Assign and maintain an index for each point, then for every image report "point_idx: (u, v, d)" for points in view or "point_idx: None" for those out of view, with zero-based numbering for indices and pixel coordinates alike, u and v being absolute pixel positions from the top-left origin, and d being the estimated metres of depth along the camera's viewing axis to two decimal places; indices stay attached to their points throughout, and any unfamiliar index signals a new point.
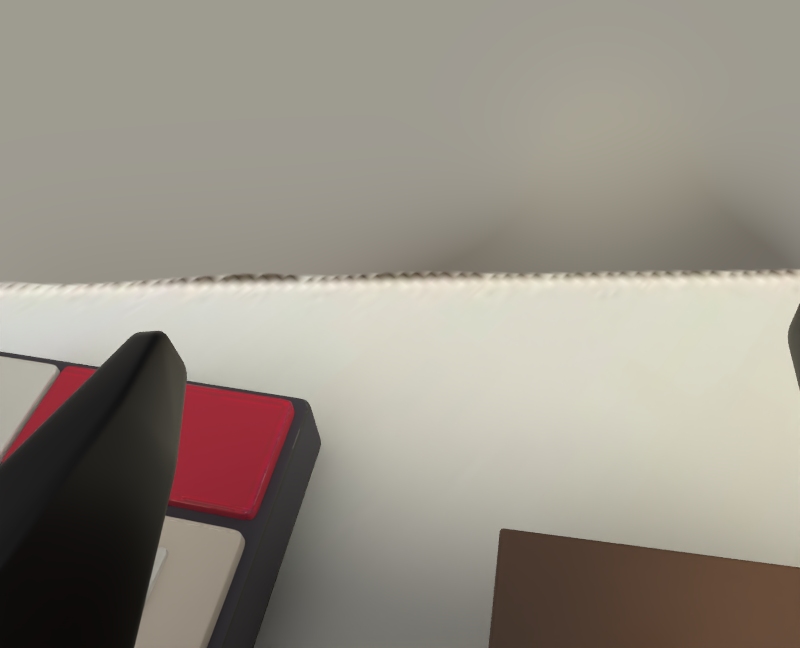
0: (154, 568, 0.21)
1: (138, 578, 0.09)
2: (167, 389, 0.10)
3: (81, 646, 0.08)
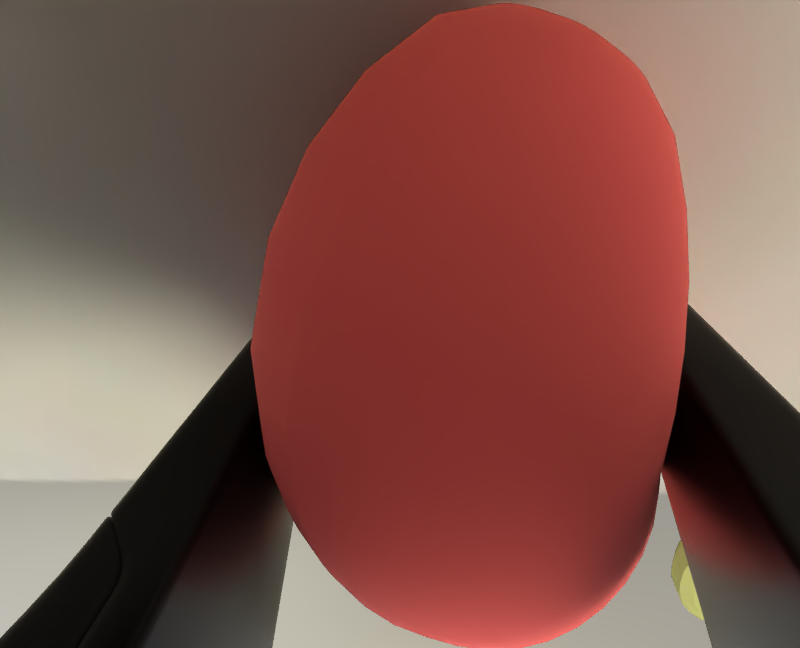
0: None
1: (275, 575, 0.09)
2: None
3: (236, 645, 0.08)
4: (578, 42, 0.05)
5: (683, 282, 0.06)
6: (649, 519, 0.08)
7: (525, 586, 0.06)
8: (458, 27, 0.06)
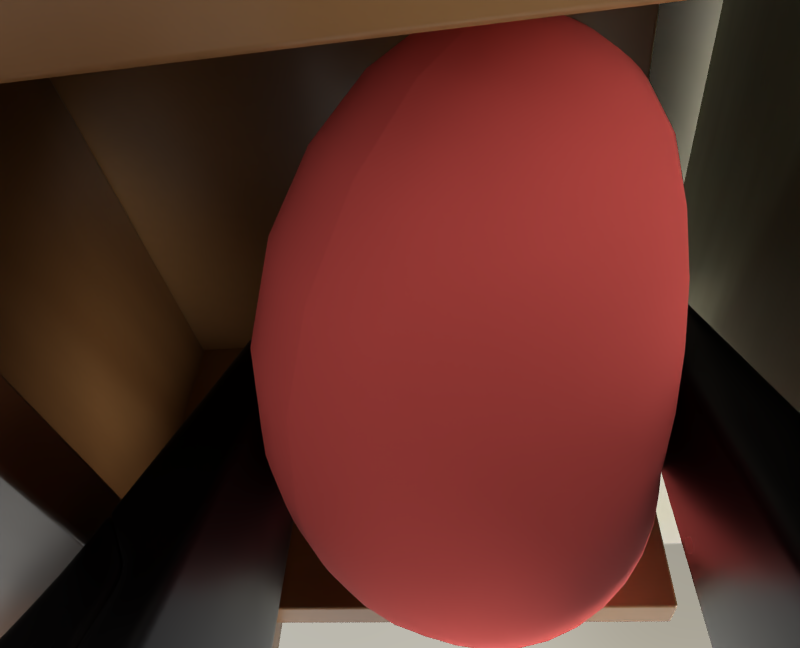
0: None
1: (276, 576, 0.09)
2: None
3: (236, 645, 0.08)
4: (579, 41, 0.05)
5: (684, 281, 0.06)
6: (649, 519, 0.08)
7: (524, 584, 0.06)
8: None
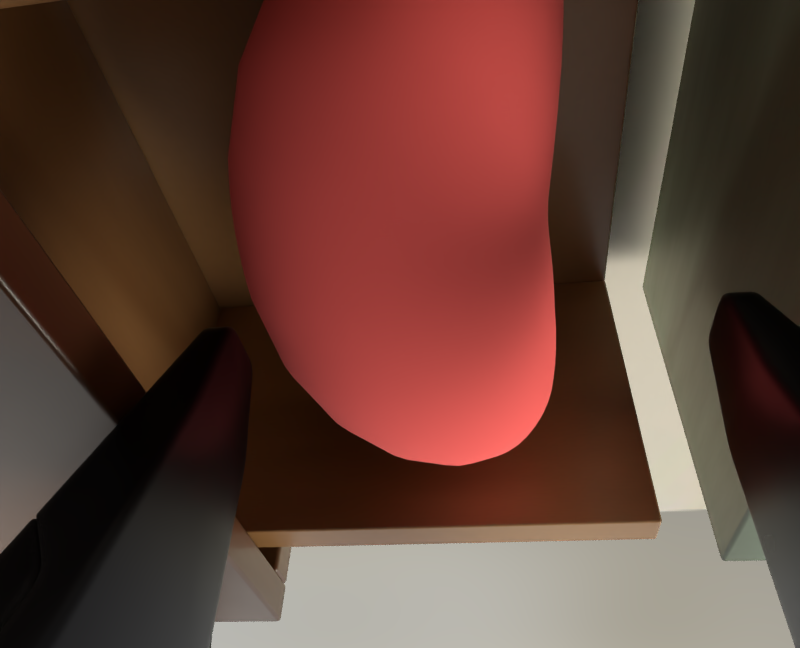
0: None
1: (212, 577, 0.09)
2: (237, 385, 0.10)
3: (165, 646, 0.08)
4: None
5: (529, 8, 0.08)
6: (502, 276, 0.09)
7: (356, 212, 0.08)
8: None
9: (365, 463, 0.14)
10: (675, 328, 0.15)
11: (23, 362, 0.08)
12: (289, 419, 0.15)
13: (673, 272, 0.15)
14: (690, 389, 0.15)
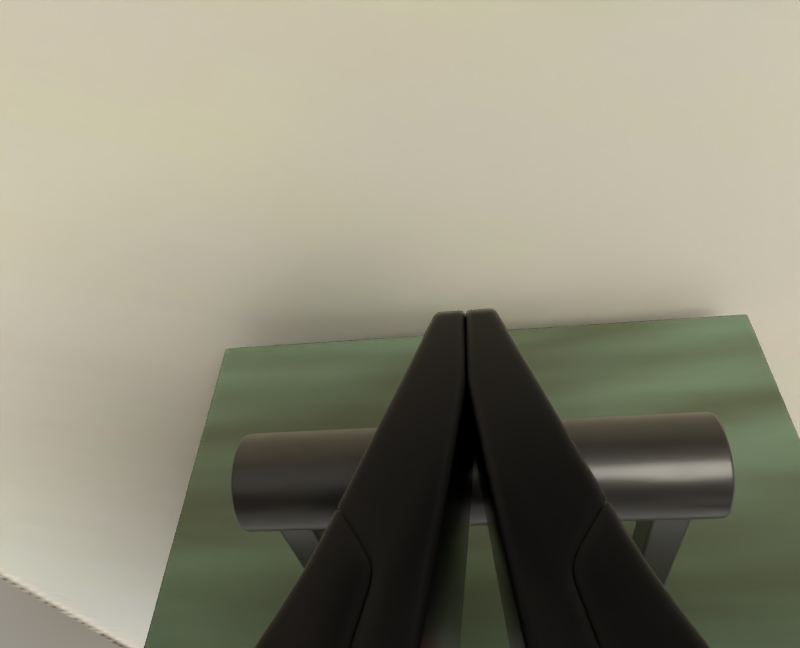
0: None
1: (462, 572, 0.08)
2: None
3: (449, 646, 0.07)
4: None
5: None
6: None
7: None
8: None
9: None
10: None
11: None
12: None
13: None
14: None
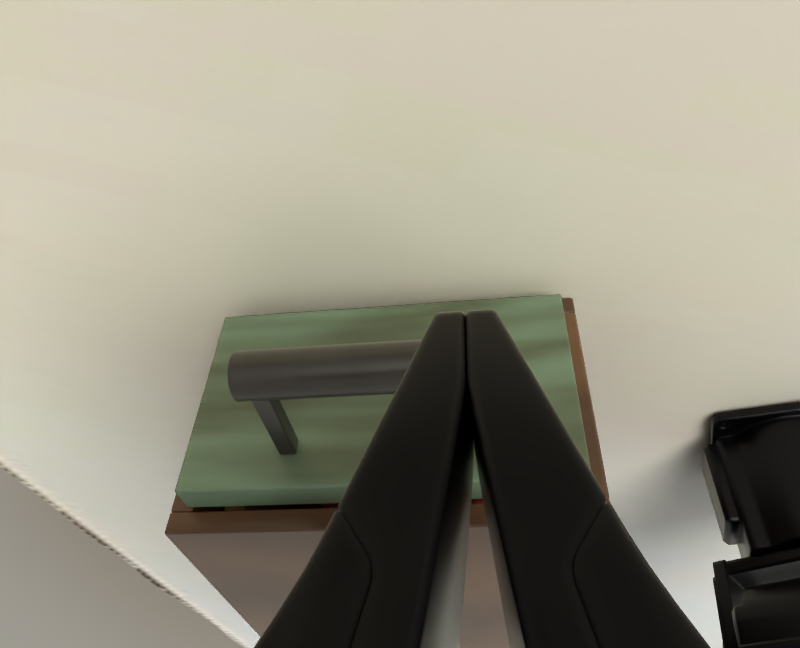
0: None
1: (462, 572, 0.08)
2: None
3: (449, 646, 0.07)
4: None
5: None
6: None
7: None
8: None
9: None
10: None
11: None
12: None
13: None
14: None
